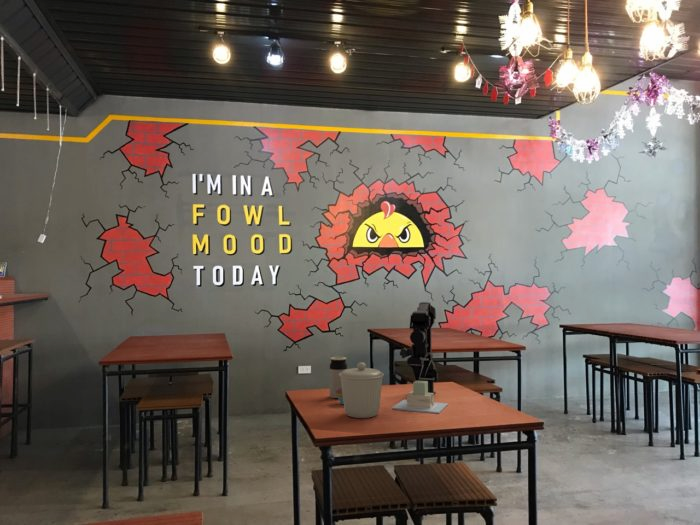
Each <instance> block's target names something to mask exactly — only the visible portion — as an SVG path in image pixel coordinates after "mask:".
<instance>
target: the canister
mask: <svg viewBox="0 0 700 525" xmlns="http://www.w3.org/2000/svg"><path fill="white" fill-rule="evenodd" d="M356 367H357V368H356ZM356 367H354V368H353V367H352V368H347V370H344V371H343V372H341V373H340V374H339V376H340V377H341V386H342V395H343V403H344V405H343V408H344V412H345V414H346V415H347V416H349V417H350V418H354V419H355V418H356V419H369V418H373V417H376V416H377V414H378V413H379V410H380V403H381V397H382V396H381V393H382V386H383V377H384V376H385V373H383V372H381V371H380V370H379V369H376V368H369V367H367V365H366V363H365V362H361V361H360V362H357V364H356Z"/></svg>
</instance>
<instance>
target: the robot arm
mask: <svg viewBox="0 0 700 525" xmlns="http://www.w3.org/2000/svg"><path fill="white" fill-rule="evenodd" d="M418 303H419V304H418V307H417V309H416V310H415V311H413V312H412V314H410V319H409V320H410V321H409V329H410V330H412V332H411V333H410V336H409V340H410V342H411V343H412V344H411V347H409V348H406V347H404V348H400V351H399V356H401V359H405V358H407V357H408V358H407V359H406V364H407V365H408V367H410V368H411V369H412V371H413V375H414V379H415V381H428V393H433V396H434V395H435V394H436V393H437V391H434V388H435V386H434V385H435V384H434V382H435V383H437V382H439V376H438V375H439V374H438V371H437V368H436V365H435V363H434V360H433V356H434V355H433V353H432V327H433V325H434V324H435V322H436V321H435V320H436V319H437V312H436V311H437V310H436V308H435V306H433V305H432V304H431V302H427V301H423V302H422V301H421V302H418Z"/></svg>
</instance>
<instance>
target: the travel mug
mask: <svg viewBox="0 0 700 525" xmlns="http://www.w3.org/2000/svg"><path fill="white" fill-rule="evenodd" d="M346 360H347V357H345V356H332V357H330V364H329V397H330V398H331V399H334V398H338V396H337V395H336V391H337V390H338V389H339V388H341V387H342V386H341V377H340V376H339V374H340V373H341V372H343V371H344V370H347V369H348V364H347V362H346Z"/></svg>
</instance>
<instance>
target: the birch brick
mask: <svg viewBox="0 0 700 525" xmlns="http://www.w3.org/2000/svg"><path fill="white" fill-rule="evenodd" d="M434 399H435V398H434V395H433V393H427V394H426V395H413V391H409V392H408V393H407V394H406V400H407V406H410V407H422V408H431V407H432V406H433V405H434Z"/></svg>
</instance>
